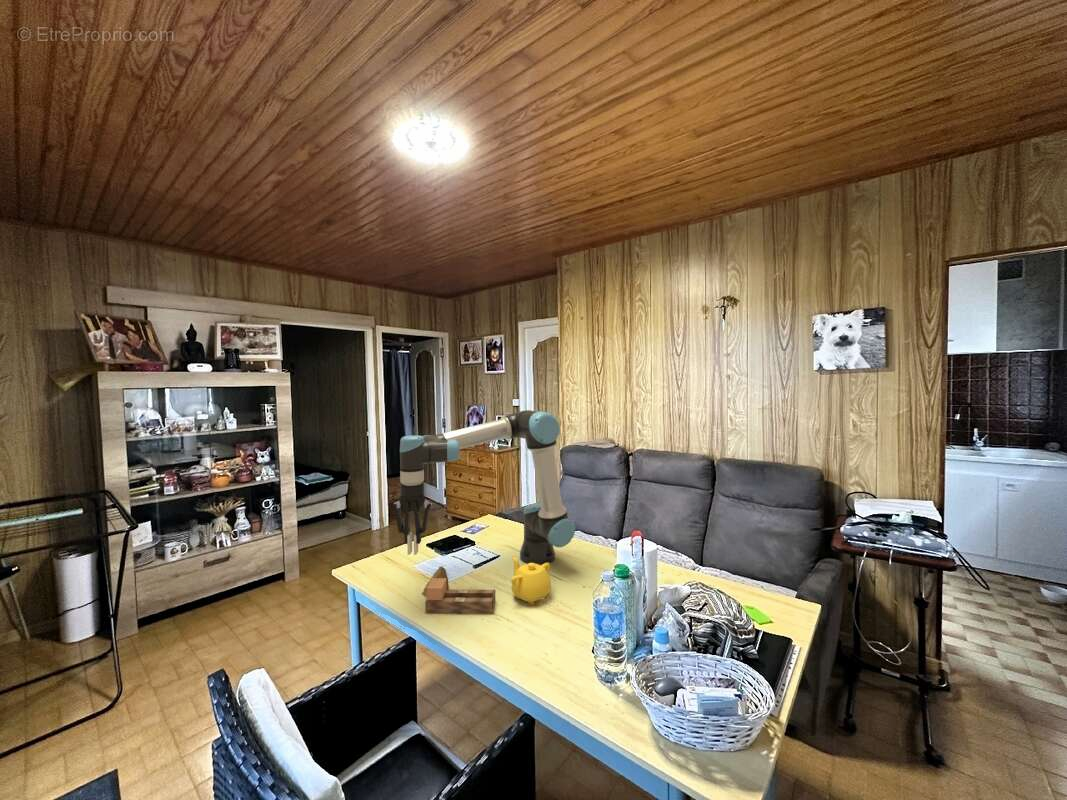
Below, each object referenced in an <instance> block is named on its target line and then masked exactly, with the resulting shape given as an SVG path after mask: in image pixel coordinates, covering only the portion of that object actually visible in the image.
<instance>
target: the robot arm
mask: <svg viewBox="0 0 1067 800" xmlns="http://www.w3.org/2000/svg"><path fill="white" fill-rule="evenodd" d="M560 431H561V429H560V424H559V421H558V419H557V418H556V416H554V415H553V414H552V413H548V412H546V411H541V410H531V409H529V410H527V409H526V410H521V411H518V412H514V413H511V414H510V413H509V414H506V415H503V416H501V417H500V418H499V419H497V420H492V421H489V422H484V423H480V424H475V425H471V426H467V427H463V428H459V429H455V430H454V429H453V430H451V431H445V432H442V433H438V434H433V435H432V434H427V435H405V436H402V437H401V438H400V442H399V443H400V444H399V460H400V461H399V462H400V464H399V467H400V469H399V470H400V471H399V473H400V474H399V475H400V476H399V479H400V480H399V481H400V486H399V487H400V497H399V500H398V501H395V502H394V503H392V504H391V507H392V509H393V511H394V515H395V519H396V520H395V521H396V525H397V530H398V534H399V533H401V534H403V535H404V538H403V539H404V544H405V545H406V546H407V555H408V556H409V555H411V554H412V552H413V555H414V556H415V555H418V553H419V545H420V544H421V542H422V534H424V533H425V532H426V531H427V529H428V523H429V518H430V512H431V508H432V506H433V504H434V503H433V502H432V501H428V500H426V499H427V498H426V497H425V483H424V481H425V465H427V464H436V463H450V462H455V461H457V460H458V459H459V457H460V453H461V451H460V450H463V449H466V448H470V447H473V446H474V447H475V446H479V445H481V444H485V443H489V442H493V441H497V440H500V439H504V438H505V440H511V439H525V445H526V448H527V450H528V451H529V452H531V455H532V462H533V463H532V464H533V468H534V474H535V480H536V486H537V492H538V498H539V502H536V503H528V504H527V505H525V507H524V509H523V542H522V545H521V548H520V551H519V559H520V560H521V561H522V562H523V563H526V564H528V563H535V564H538V565H542V564H544V563H549V564H550V563H552V562H553V561H554V560H555V559H556V551H555V548H563V547H566V546H567V545H569V544H570V542H571V541H572V539H573V538H574V536H575V533H576V526H575V523H574V522H573V520H571V519H570V518H569V514H568V509H567V507H566V506H564V505H563V501H562V495H561V489H560V482H559V476H558V469H557V463H556V457H555V450H554V448H555V447H556V445H557V439H558V436H559V435H560ZM423 505H424V513H423V519H422V518H421V508H422V507H423ZM401 506H402V508H403V509H404V517H403V515H402V508H401ZM412 512H413V515H414V525H415V533H414V534H413V532H412V531H411V516H412V515H411V514H412ZM403 518H404V519H403ZM421 519H422V520H421ZM421 521H422V522H421Z"/></svg>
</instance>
